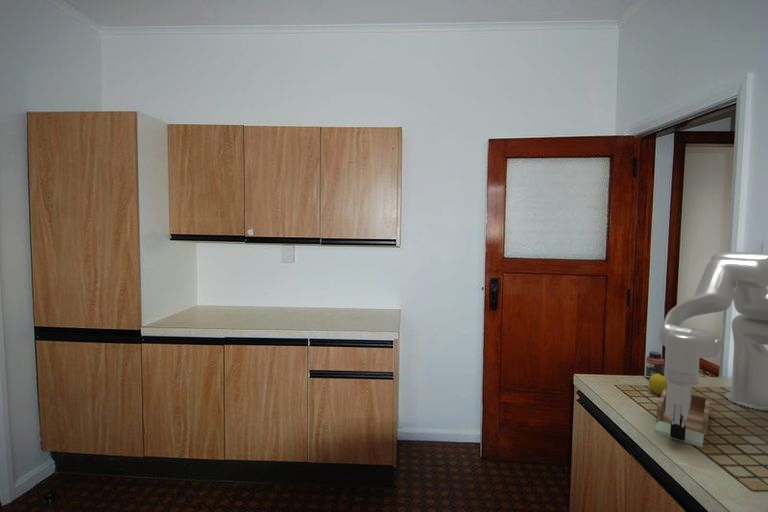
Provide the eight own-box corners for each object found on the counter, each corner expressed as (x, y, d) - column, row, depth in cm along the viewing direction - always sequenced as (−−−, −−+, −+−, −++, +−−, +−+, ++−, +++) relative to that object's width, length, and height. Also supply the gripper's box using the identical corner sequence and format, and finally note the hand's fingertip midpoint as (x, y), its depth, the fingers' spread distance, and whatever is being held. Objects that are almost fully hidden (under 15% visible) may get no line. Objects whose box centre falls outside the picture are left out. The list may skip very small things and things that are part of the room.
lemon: (669, 398, 133) (671, 377, 132) (652, 396, 134) (654, 375, 133) (661, 391, 138) (662, 371, 138) (645, 390, 139) (646, 370, 139)
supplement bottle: (661, 377, 152) (662, 351, 151) (665, 383, 146) (666, 355, 146) (644, 375, 154) (645, 349, 153) (647, 380, 149) (648, 353, 148)
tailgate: (658, 420, 114) (654, 429, 109) (704, 433, 107) (702, 443, 101) (658, 425, 114) (654, 433, 109) (703, 438, 107) (702, 448, 101)
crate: (663, 403, 128) (664, 387, 128) (709, 415, 120) (710, 398, 120) (656, 423, 115) (657, 404, 115) (706, 437, 107) (707, 418, 107)
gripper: (667, 365, 111) (664, 423, 112) (660, 379, 100) (657, 443, 101) (699, 372, 106) (696, 432, 107) (696, 387, 95) (692, 455, 96)
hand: (677, 437), depth 104 cm, fingers closed
